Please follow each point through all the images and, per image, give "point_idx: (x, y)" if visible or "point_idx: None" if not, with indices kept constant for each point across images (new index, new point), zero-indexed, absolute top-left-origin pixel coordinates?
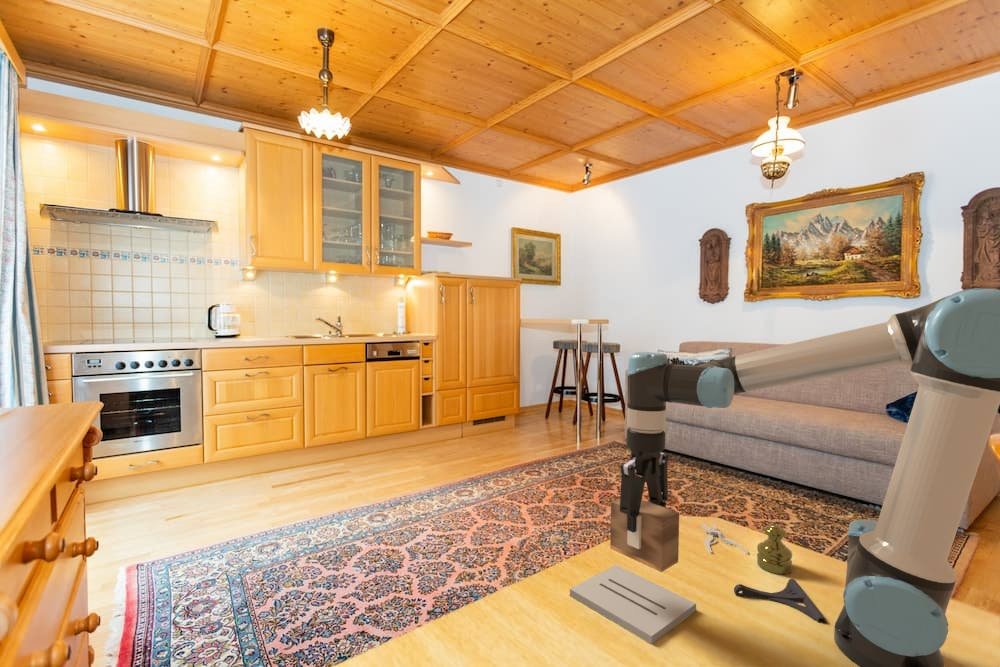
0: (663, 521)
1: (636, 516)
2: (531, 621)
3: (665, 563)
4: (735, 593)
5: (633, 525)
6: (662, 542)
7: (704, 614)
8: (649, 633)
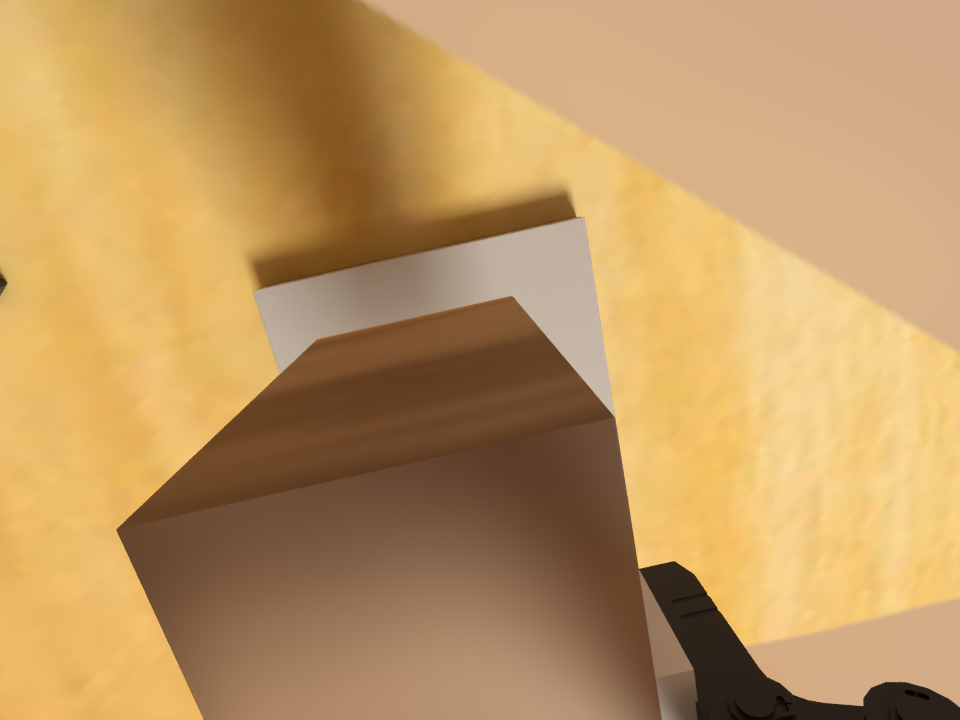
0: (578, 416)
1: (747, 678)
2: (828, 491)
3: (470, 312)
4: (2, 286)
5: (705, 610)
6: (539, 339)
7: (249, 253)
8: (577, 234)
